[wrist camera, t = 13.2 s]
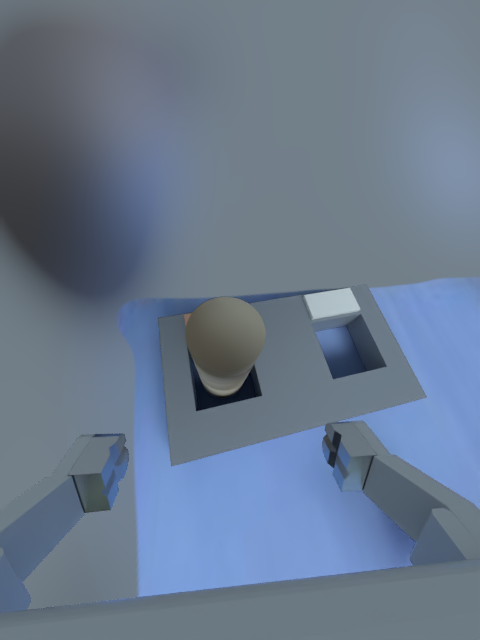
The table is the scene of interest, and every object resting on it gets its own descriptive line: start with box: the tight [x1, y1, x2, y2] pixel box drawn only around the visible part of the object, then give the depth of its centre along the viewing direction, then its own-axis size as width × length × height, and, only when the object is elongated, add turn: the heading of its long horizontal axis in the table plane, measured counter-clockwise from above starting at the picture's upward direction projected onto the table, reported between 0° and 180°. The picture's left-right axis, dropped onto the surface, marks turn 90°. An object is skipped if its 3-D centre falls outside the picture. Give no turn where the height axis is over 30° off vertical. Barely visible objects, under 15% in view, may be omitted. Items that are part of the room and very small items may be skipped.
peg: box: [185, 297, 266, 399], centre depth 17 cm, size 4×4×12 cm
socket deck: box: [158, 284, 427, 466], centre depth 22 cm, size 22×12×3 cm, turn 103°
